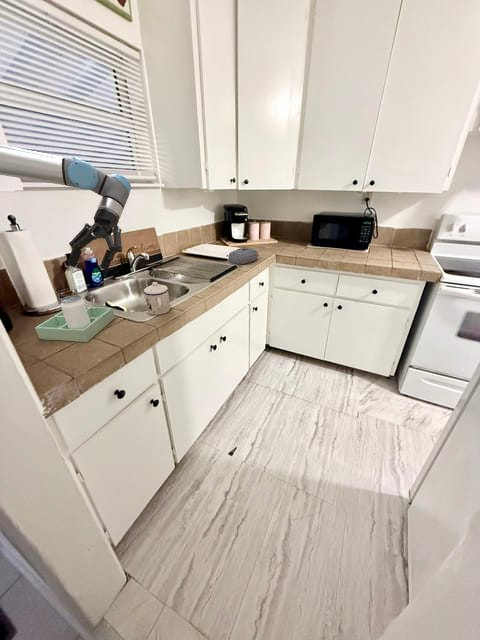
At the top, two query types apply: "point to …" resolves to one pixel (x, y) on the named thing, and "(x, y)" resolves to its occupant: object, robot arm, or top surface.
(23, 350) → the top surface
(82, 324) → the can
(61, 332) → the tray with compartments
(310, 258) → the top surface
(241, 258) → the grey rounded bag
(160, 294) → the teacup with lid
